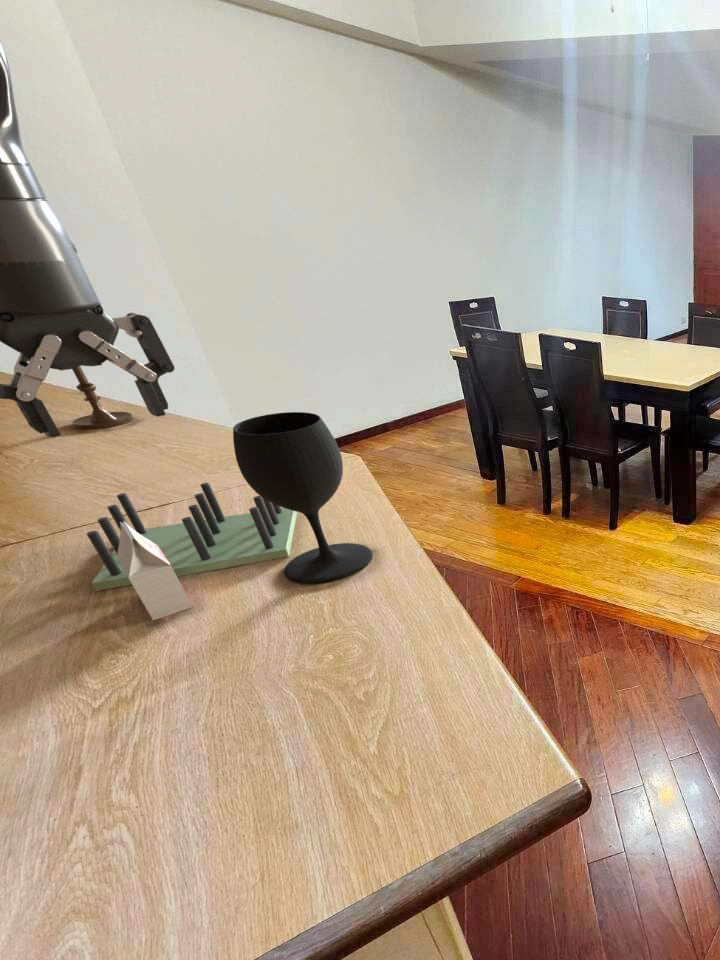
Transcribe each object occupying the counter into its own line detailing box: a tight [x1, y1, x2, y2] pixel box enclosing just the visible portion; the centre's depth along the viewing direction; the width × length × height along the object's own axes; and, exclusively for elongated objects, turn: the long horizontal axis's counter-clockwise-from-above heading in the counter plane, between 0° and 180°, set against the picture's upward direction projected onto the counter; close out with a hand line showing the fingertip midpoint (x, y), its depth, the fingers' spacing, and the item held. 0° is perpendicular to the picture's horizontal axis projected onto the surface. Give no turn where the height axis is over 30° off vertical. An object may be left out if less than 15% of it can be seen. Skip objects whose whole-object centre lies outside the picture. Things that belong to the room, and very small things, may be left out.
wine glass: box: [232, 411, 374, 585], centre depth 76 cm, size 10×10×20 cm
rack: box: [86, 482, 298, 592], centre depth 81 cm, size 20×15×7 cm
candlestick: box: [71, 366, 134, 430], centre depth 116 cm, size 11×11×35 cm
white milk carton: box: [117, 521, 194, 621], centre depth 69 cm, size 4×7×10 cm, turn 50°
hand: (108, 424), depth 63 cm, fingers open, 8 cm apart
